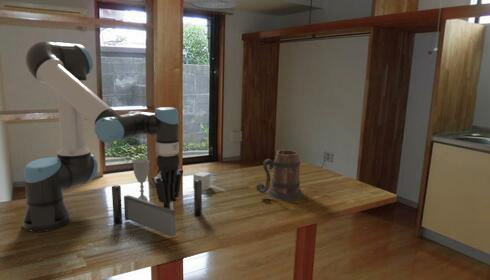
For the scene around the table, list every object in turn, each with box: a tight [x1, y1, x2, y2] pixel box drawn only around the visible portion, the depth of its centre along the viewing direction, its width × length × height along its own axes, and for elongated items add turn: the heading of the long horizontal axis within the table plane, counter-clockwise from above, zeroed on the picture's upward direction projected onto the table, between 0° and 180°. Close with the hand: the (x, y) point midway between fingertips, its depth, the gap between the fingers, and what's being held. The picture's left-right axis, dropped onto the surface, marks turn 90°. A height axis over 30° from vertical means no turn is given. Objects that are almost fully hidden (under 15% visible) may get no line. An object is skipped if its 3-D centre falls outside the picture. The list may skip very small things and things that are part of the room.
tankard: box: [256, 149, 304, 201], centre depth 166 cm, size 24×17×20 cm
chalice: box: [132, 158, 150, 202], centre depth 153 cm, size 7×7×18 cm
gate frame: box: [111, 180, 203, 225], centre depth 138 cm, size 33×3×14 cm, turn 108°
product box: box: [192, 171, 212, 192], centre depth 173 cm, size 6×6×7 cm
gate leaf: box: [123, 194, 176, 237], centre depth 128 cm, size 25×2×10 cm, turn 56°
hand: (169, 218), depth 127 cm, fingers closed
